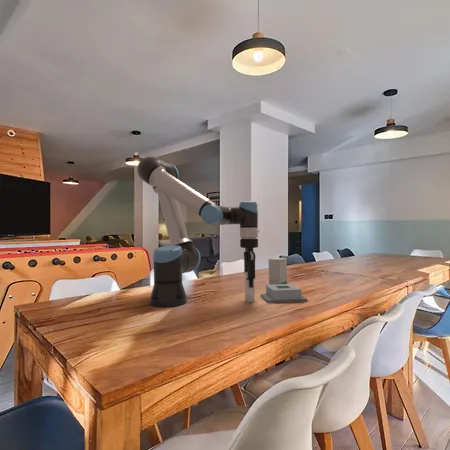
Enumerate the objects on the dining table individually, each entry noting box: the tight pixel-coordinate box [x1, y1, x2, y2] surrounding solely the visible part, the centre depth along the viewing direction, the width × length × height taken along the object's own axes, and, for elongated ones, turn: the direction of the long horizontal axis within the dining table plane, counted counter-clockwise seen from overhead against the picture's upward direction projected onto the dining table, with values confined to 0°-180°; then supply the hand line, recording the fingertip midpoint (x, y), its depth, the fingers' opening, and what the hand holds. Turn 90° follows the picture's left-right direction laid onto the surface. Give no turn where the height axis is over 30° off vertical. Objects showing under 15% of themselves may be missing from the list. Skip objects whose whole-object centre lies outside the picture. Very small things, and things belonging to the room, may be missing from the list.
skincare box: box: [268, 257, 288, 285], centre depth 149 cm, size 8×7×16 cm
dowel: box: [244, 272, 256, 303], centre depth 127 cm, size 4×4×12 cm
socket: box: [260, 283, 308, 304], centre depth 131 cm, size 17×12×5 cm
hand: (249, 293), depth 127 cm, fingers closed on dowel, 4 cm apart
